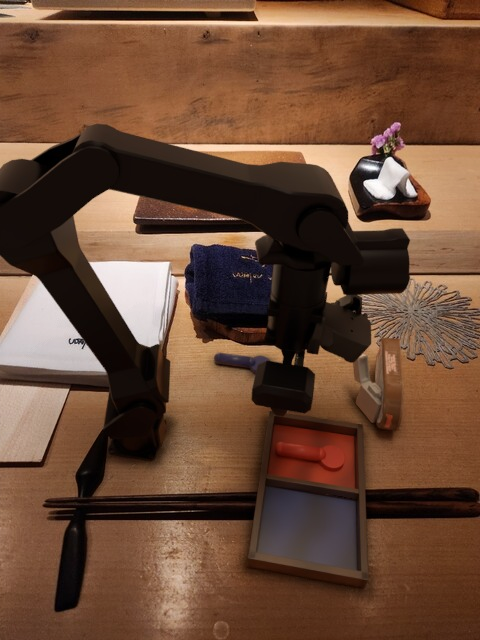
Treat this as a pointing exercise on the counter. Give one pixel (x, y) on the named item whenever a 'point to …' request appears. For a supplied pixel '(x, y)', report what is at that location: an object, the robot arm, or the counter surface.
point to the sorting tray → (311, 504)
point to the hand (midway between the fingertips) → (284, 385)
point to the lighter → (367, 390)
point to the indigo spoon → (240, 360)
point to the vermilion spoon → (314, 454)
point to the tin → (390, 383)
